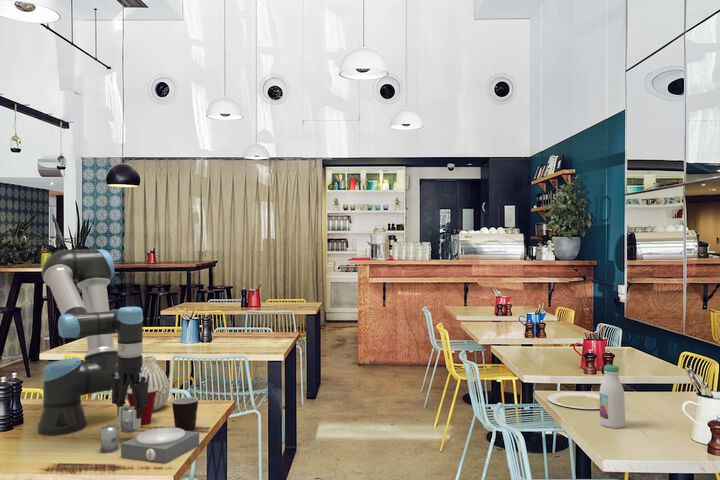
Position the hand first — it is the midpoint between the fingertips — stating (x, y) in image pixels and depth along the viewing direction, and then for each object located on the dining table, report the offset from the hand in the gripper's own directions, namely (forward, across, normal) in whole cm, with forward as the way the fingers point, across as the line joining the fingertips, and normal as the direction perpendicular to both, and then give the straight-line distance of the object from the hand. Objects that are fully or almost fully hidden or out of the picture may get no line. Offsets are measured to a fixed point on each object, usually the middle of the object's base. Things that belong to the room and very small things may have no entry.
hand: (129, 426), depth 185 cm
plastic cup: (+5, -9, +16) cm, 19 cm away
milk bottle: (+1, +148, +62) cm, 160 cm away
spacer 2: (+1, 0, 0) cm, 1 cm away
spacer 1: (+4, +1, -10) cm, 10 cm away
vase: (+6, -19, +32) cm, 37 cm away
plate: (+2, +139, +90) cm, 166 cm away
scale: (+4, +17, -6) cm, 18 cm away
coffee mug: (+4, +11, +16) cm, 19 cm away
